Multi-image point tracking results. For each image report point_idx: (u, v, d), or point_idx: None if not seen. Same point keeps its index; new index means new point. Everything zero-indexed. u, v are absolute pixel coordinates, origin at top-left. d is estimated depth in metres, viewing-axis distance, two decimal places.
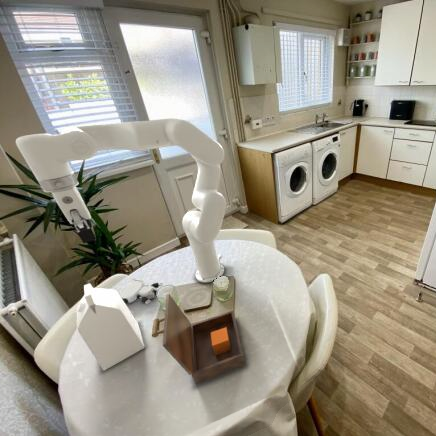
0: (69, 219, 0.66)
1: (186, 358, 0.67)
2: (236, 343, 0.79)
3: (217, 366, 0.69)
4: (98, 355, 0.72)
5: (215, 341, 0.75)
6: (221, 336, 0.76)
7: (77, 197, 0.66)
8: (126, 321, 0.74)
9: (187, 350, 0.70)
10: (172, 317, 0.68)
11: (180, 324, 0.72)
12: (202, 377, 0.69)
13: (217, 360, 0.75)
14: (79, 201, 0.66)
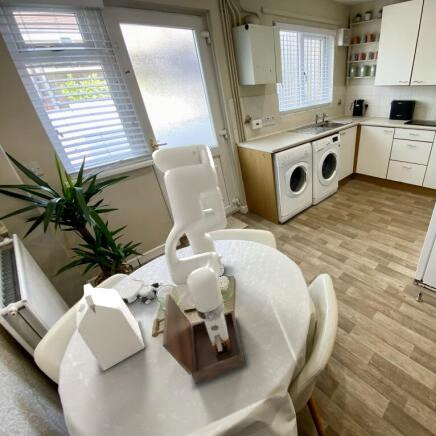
0: (212, 342, 0.70)
1: (186, 358, 0.67)
2: (236, 343, 0.79)
3: (217, 366, 0.69)
4: (98, 355, 0.72)
5: None
6: None
7: (222, 324, 0.68)
8: (126, 321, 0.74)
9: (187, 350, 0.70)
10: (172, 317, 0.68)
11: (180, 324, 0.72)
12: (202, 377, 0.69)
13: (217, 360, 0.75)
14: (223, 328, 0.69)
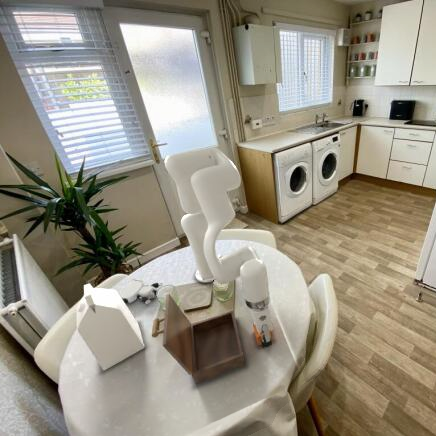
0: (259, 331, 0.72)
1: (186, 358, 0.67)
2: (236, 343, 0.79)
3: (217, 366, 0.69)
4: (98, 355, 0.72)
5: None
6: None
7: (269, 315, 0.71)
8: (126, 321, 0.74)
9: (187, 350, 0.70)
10: (172, 317, 0.68)
11: (180, 324, 0.72)
12: (202, 377, 0.69)
13: (217, 360, 0.75)
14: (270, 318, 0.72)
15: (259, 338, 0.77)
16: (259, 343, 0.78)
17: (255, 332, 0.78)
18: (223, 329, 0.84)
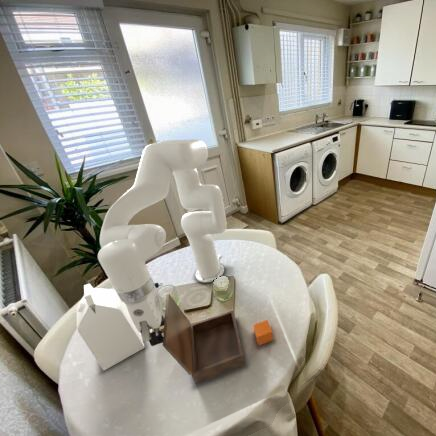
0: (138, 329, 0.58)
1: (186, 358, 0.67)
2: (236, 343, 0.79)
3: (217, 366, 0.69)
4: (98, 355, 0.72)
5: (259, 333, 0.78)
6: (264, 328, 0.79)
7: (148, 309, 0.57)
8: (126, 321, 0.74)
9: (187, 350, 0.70)
10: (172, 317, 0.68)
11: (180, 324, 0.72)
12: (202, 377, 0.69)
13: (217, 360, 0.75)
14: (150, 312, 0.58)
15: (259, 338, 0.77)
16: (259, 343, 0.78)
17: (255, 332, 0.78)
18: (223, 329, 0.84)
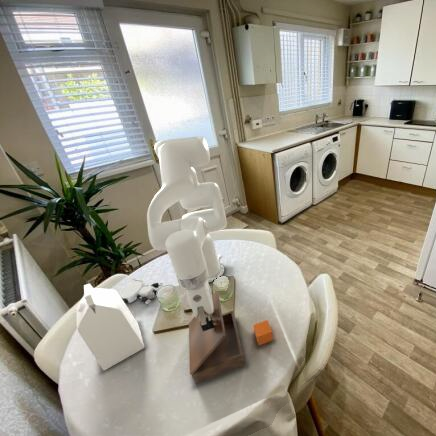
0: (195, 314, 0.63)
1: None
2: (236, 343, 0.79)
3: (217, 366, 0.69)
4: (98, 355, 0.72)
5: (259, 333, 0.78)
6: (264, 328, 0.79)
7: (205, 295, 0.62)
8: (126, 321, 0.74)
9: None
10: None
11: None
12: (202, 377, 0.69)
13: (217, 360, 0.75)
14: (206, 298, 0.62)
15: (259, 338, 0.77)
16: (259, 343, 0.78)
17: (255, 332, 0.78)
18: None
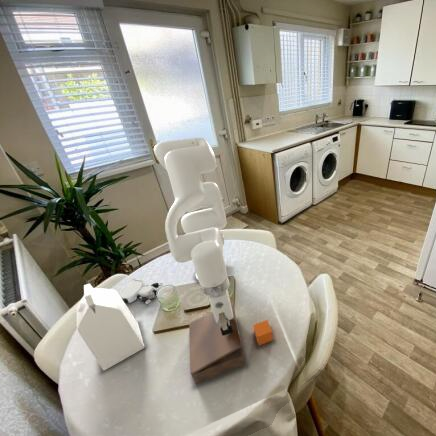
0: (216, 320, 0.66)
1: None
2: None
3: (217, 366, 0.69)
4: (98, 355, 0.72)
5: (259, 333, 0.78)
6: (264, 328, 0.79)
7: (227, 302, 0.65)
8: (126, 321, 0.74)
9: None
10: None
11: None
12: (202, 377, 0.69)
13: None
14: (228, 305, 0.66)
15: (259, 338, 0.77)
16: (259, 343, 0.78)
17: (255, 332, 0.78)
18: None
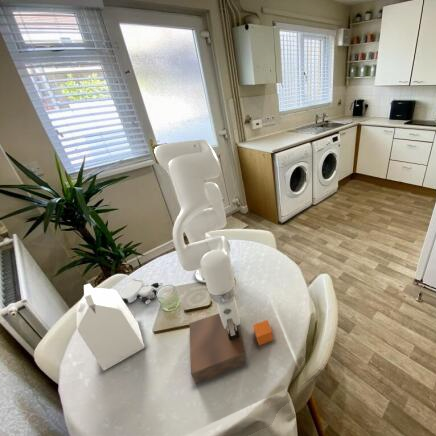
0: (224, 326, 0.69)
1: None
2: None
3: (217, 366, 0.69)
4: (98, 355, 0.72)
5: (259, 333, 0.78)
6: (264, 328, 0.79)
7: (235, 308, 0.68)
8: (126, 321, 0.74)
9: None
10: None
11: None
12: (202, 377, 0.69)
13: None
14: (235, 311, 0.68)
15: (259, 338, 0.77)
16: (259, 343, 0.78)
17: (255, 332, 0.78)
18: None
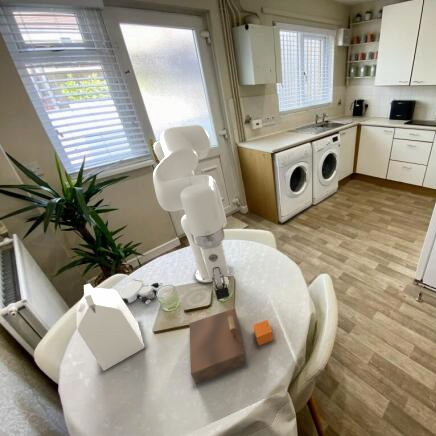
0: (210, 276, 0.59)
1: None
2: None
3: (217, 366, 0.69)
4: (98, 355, 0.72)
5: (259, 333, 0.78)
6: (264, 328, 0.79)
7: (222, 255, 0.58)
8: (126, 321, 0.74)
9: None
10: None
11: None
12: (202, 377, 0.69)
13: None
14: (223, 259, 0.58)
15: (259, 338, 0.77)
16: (259, 343, 0.78)
17: (255, 332, 0.78)
18: None
